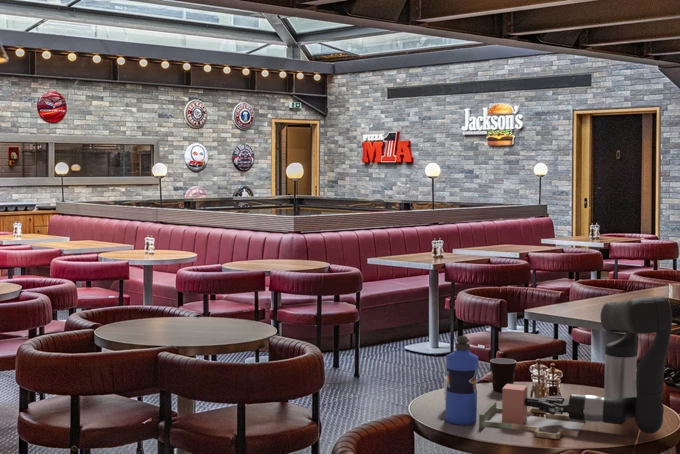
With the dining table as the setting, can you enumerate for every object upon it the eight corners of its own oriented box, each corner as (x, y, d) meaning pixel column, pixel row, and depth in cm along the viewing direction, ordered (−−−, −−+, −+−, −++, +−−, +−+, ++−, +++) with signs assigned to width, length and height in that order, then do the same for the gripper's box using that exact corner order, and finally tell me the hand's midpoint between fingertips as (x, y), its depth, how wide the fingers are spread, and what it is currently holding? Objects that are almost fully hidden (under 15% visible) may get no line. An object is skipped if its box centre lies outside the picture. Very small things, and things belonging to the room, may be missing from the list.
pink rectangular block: (526, 419, 256) (527, 385, 256) (522, 425, 251) (523, 390, 250) (506, 417, 259) (506, 383, 258) (501, 422, 253) (502, 388, 253)
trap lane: (587, 420, 259) (587, 407, 259) (574, 444, 236) (574, 430, 236) (495, 410, 270) (495, 397, 269) (475, 432, 247) (475, 418, 247)
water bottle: (442, 423, 255) (444, 337, 254) (447, 415, 264) (449, 332, 263) (474, 426, 253) (476, 339, 251) (479, 418, 262) (480, 334, 260)
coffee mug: (510, 395, 288) (510, 364, 288) (485, 391, 293) (485, 361, 292) (523, 387, 298) (523, 358, 297) (499, 384, 303) (499, 355, 302)
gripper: (590, 389, 252) (529, 383, 259) (584, 400, 240) (520, 394, 247) (590, 415, 253) (529, 408, 260) (583, 427, 241) (520, 420, 247)
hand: (525, 401), depth 253 cm, fingers closed
